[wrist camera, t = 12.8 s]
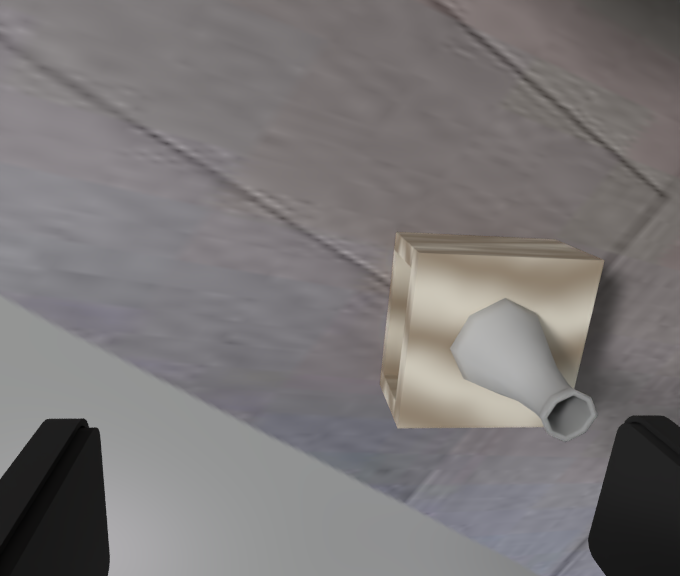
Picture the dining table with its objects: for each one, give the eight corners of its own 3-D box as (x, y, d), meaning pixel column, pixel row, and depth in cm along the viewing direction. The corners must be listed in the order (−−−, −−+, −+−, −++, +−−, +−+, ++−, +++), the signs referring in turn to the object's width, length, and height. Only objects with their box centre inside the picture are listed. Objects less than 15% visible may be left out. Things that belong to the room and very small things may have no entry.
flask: (561, 342, 40) (652, 412, 30) (490, 404, 40) (557, 491, 31) (505, 279, 37) (584, 334, 28) (431, 347, 38) (484, 422, 29)
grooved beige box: (396, 231, 42) (419, 252, 36) (554, 239, 44) (604, 260, 38) (379, 384, 47) (397, 428, 40) (525, 384, 49) (565, 426, 42)
